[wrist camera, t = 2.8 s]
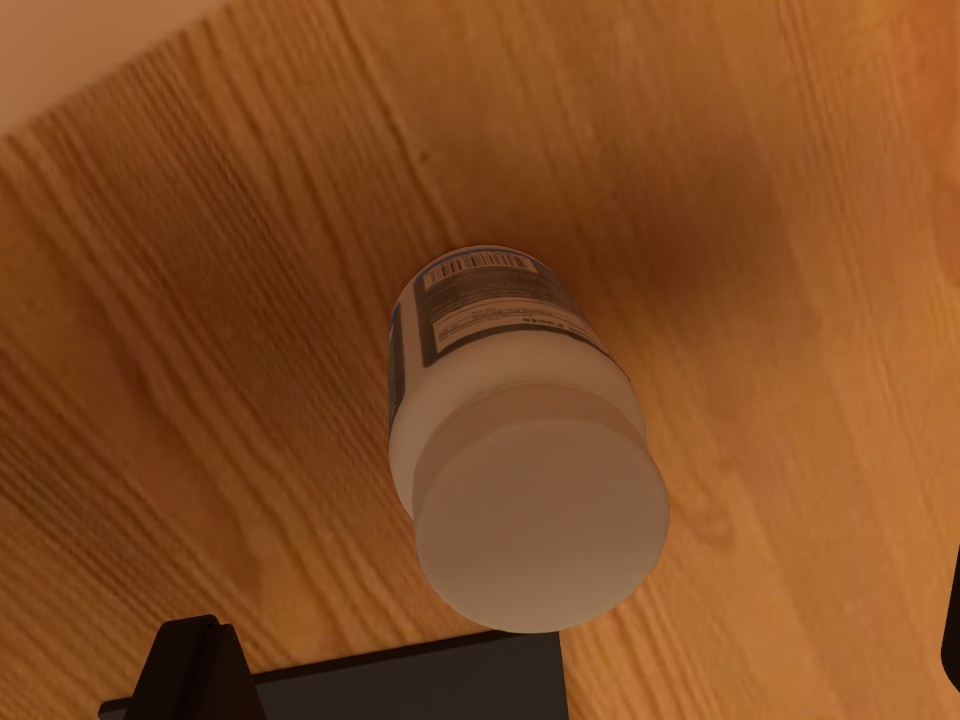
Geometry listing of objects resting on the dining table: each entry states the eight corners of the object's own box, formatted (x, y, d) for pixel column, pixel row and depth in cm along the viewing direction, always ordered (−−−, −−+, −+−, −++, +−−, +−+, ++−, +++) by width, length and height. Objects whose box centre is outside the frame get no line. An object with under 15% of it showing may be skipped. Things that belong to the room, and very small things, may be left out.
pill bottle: (506, 441, 20) (575, 692, 13) (353, 361, 19) (329, 590, 11) (611, 301, 19) (758, 488, 11) (455, 202, 18) (506, 341, 10)
